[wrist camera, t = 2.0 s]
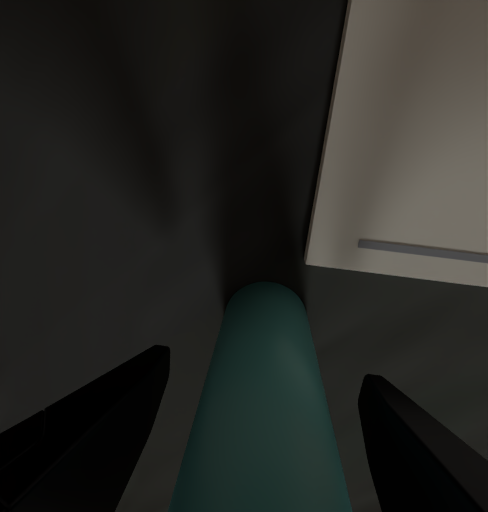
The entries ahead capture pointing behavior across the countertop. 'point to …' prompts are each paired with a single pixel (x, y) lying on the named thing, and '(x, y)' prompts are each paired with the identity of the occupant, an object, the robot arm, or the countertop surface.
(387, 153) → the notepad
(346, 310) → the countertop surface
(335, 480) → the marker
